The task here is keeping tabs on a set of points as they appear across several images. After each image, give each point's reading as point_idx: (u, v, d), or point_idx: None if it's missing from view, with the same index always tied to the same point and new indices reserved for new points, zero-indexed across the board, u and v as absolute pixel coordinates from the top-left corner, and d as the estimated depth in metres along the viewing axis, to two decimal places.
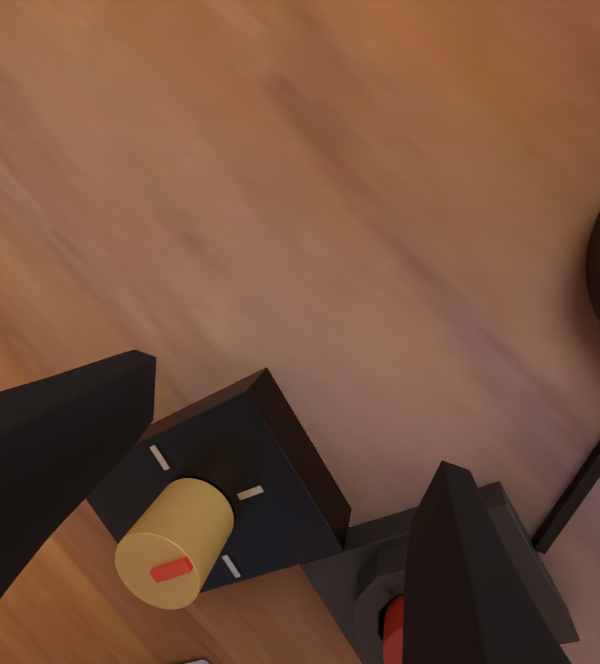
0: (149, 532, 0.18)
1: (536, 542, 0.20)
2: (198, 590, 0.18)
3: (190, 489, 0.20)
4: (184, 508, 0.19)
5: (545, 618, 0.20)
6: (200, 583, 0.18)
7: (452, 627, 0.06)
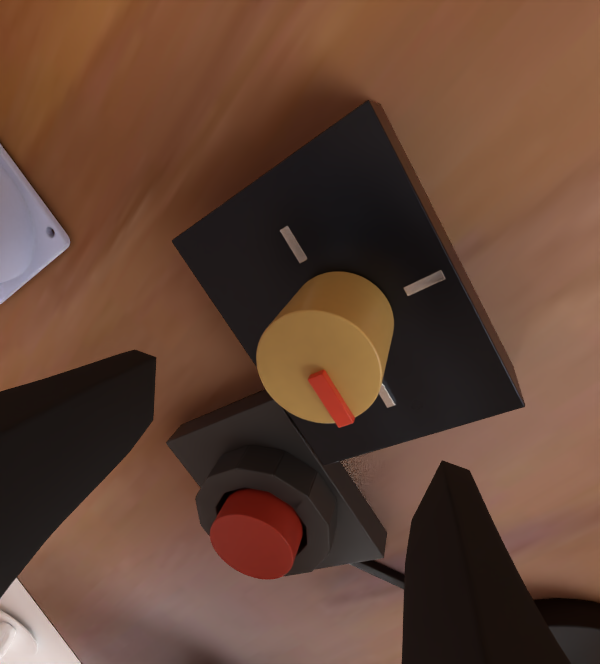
0: (382, 373, 0.13)
1: None
2: (302, 417, 0.14)
3: (390, 339, 0.15)
4: None
5: None
6: (312, 420, 0.14)
7: (452, 627, 0.06)
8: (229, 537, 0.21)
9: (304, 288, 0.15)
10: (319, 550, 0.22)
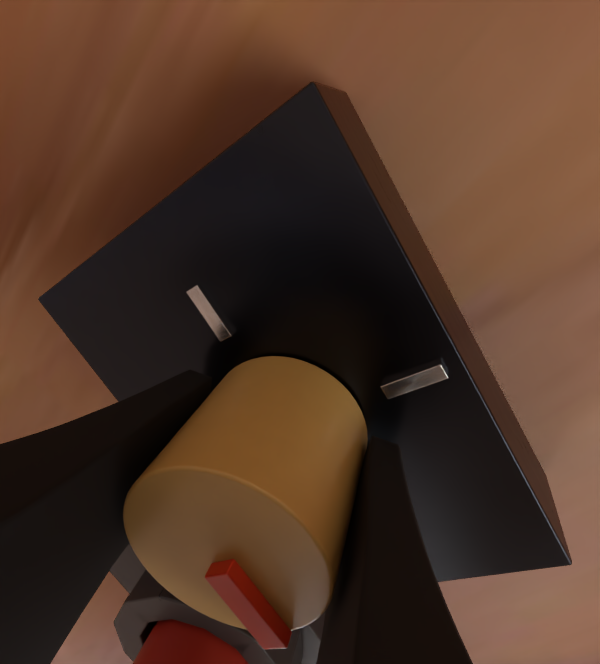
0: (334, 577, 0.07)
1: None
2: (209, 614, 0.08)
3: (360, 467, 0.10)
4: None
5: None
6: None
7: (351, 584, 0.07)
8: None
9: (219, 390, 0.09)
10: None
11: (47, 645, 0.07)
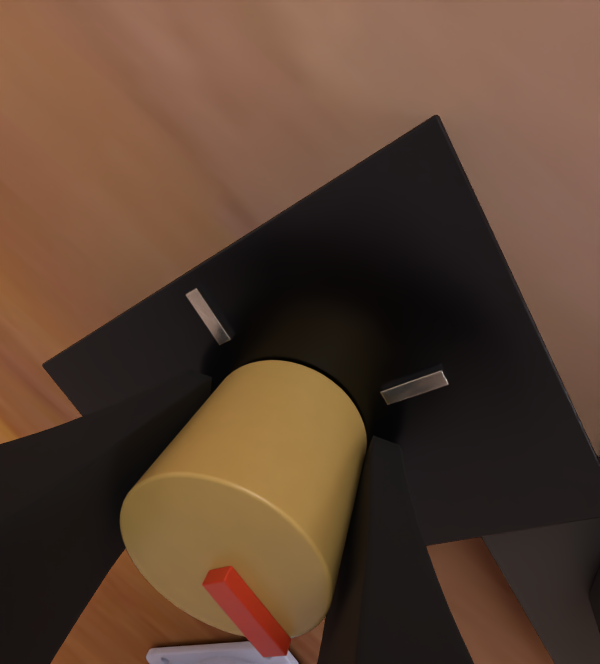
0: (333, 583, 0.07)
1: None
2: (208, 622, 0.08)
3: (359, 471, 0.10)
4: None
5: None
6: None
7: (353, 585, 0.07)
8: None
9: (216, 395, 0.09)
10: None
11: (47, 645, 0.07)
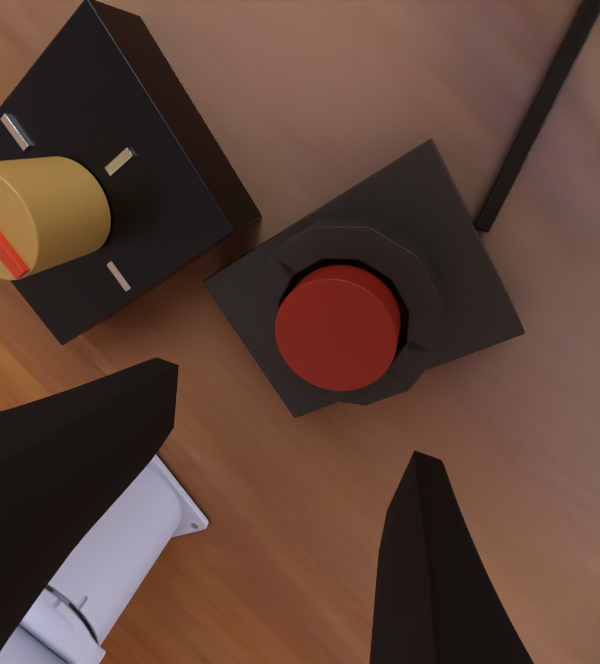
0: (35, 222, 0.14)
1: (477, 217, 0.16)
2: None
3: (96, 215, 0.17)
4: (75, 230, 0.16)
5: (483, 307, 0.16)
6: (6, 279, 0.16)
7: (412, 610, 0.06)
8: (321, 363, 0.16)
9: None
10: (365, 241, 0.15)
11: (2, 622, 0.07)
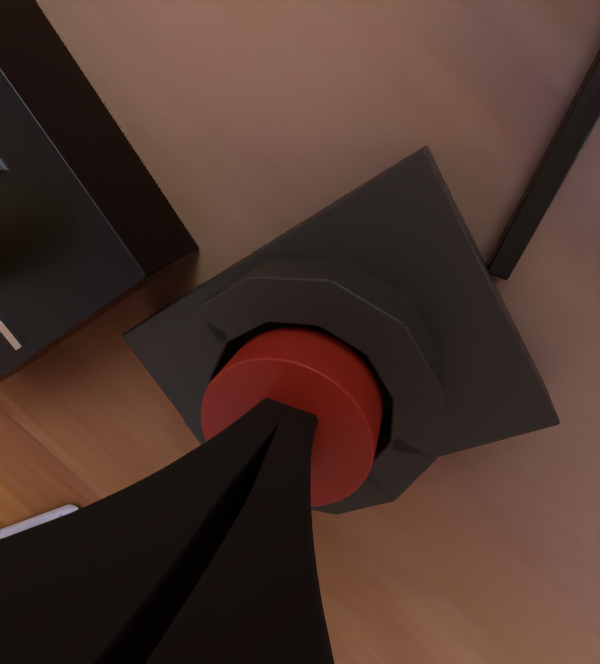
0: None
1: (492, 258, 0.11)
2: None
3: None
4: None
5: (500, 386, 0.11)
6: None
7: None
8: None
9: None
10: (327, 300, 0.10)
11: None
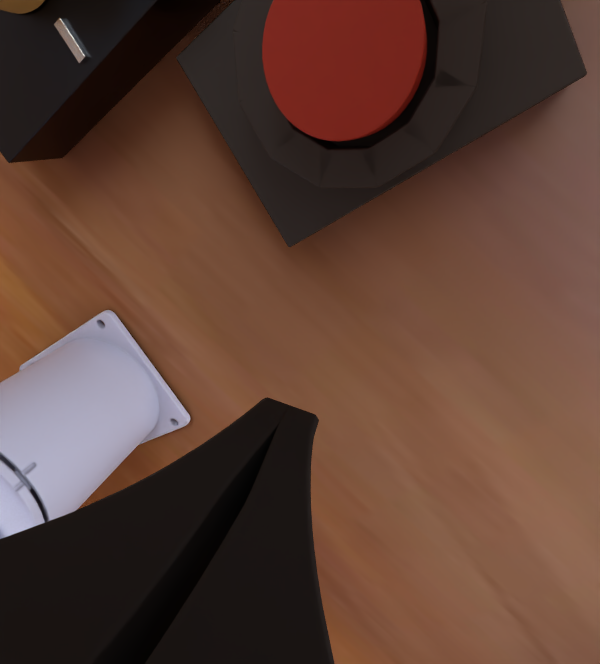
0: None
1: None
2: None
3: None
4: None
5: (533, 39, 0.13)
6: None
7: None
8: (322, 96, 0.12)
9: None
10: None
11: None
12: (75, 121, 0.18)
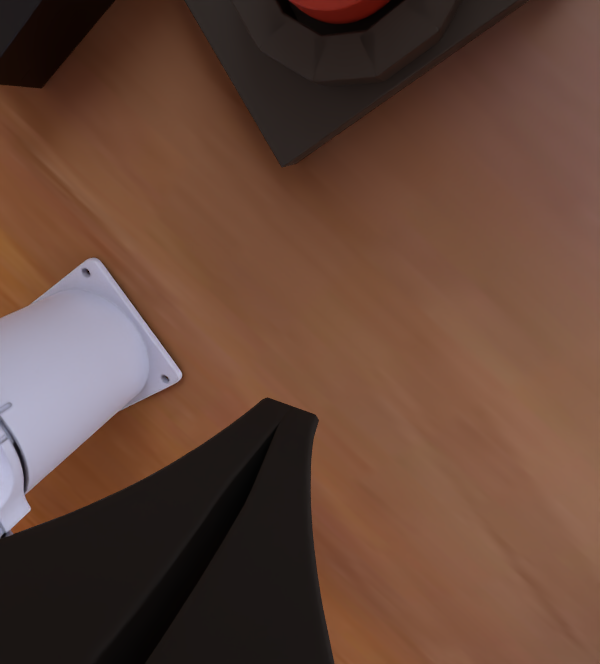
0: None
1: None
2: None
3: None
4: None
5: None
6: None
7: None
8: None
9: None
10: None
11: None
12: (52, 37, 0.17)
